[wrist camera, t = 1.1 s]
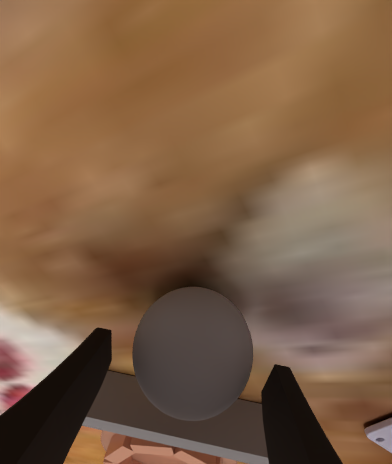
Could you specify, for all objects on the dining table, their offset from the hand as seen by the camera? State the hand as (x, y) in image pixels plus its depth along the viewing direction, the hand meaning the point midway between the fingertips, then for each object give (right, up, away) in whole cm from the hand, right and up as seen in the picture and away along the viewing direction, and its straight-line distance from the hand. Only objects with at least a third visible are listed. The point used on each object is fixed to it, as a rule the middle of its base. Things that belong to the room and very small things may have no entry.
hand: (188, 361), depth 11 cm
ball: (0, 0, +1) cm, 1 cm away
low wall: (-1, -6, +7) cm, 9 cm away
